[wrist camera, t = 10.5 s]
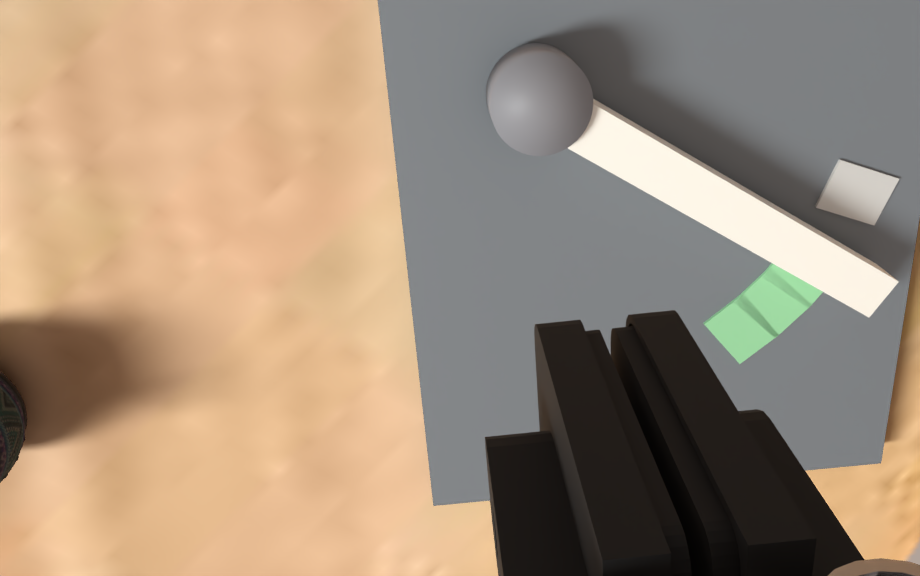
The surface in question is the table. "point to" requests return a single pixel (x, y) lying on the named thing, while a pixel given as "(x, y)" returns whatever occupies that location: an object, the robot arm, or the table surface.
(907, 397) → the table surface
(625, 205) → the dial board
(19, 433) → the mate gourd
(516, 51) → the pointer
